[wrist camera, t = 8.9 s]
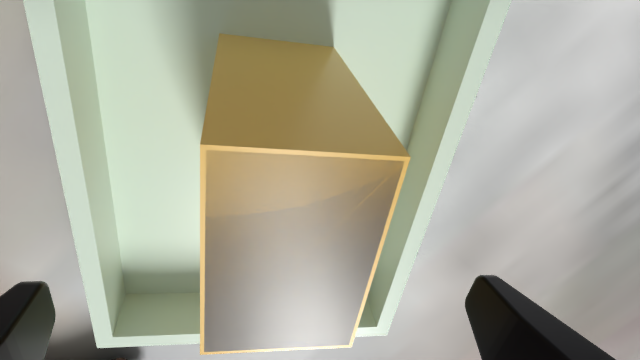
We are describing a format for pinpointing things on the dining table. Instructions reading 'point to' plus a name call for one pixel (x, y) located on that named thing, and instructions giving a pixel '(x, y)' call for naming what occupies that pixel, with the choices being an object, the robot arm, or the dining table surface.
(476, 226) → the dining table surface
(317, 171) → the tan rectangular block
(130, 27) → the parts tray
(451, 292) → the dining table surface
